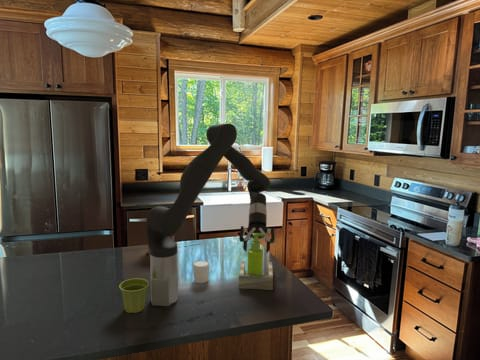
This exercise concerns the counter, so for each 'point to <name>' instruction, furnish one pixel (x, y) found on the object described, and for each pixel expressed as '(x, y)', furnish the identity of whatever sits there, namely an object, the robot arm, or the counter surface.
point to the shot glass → (201, 271)
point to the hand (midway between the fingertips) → (256, 251)
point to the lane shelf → (256, 279)
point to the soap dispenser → (255, 256)
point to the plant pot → (134, 294)
